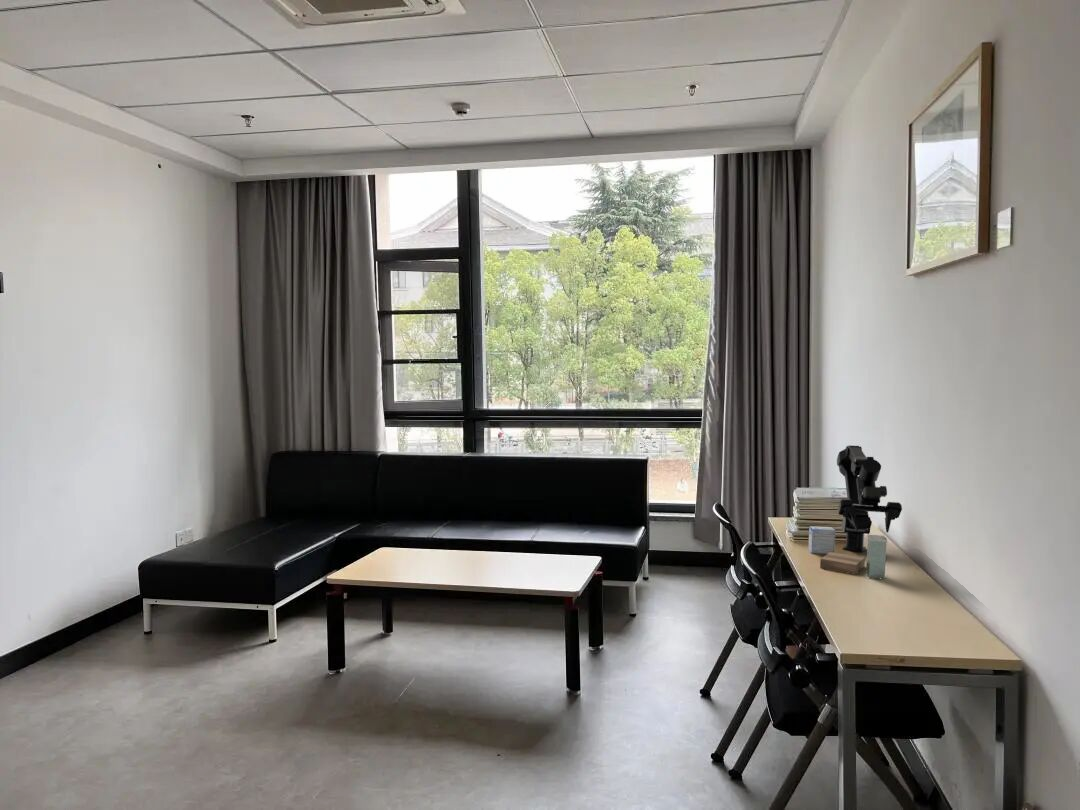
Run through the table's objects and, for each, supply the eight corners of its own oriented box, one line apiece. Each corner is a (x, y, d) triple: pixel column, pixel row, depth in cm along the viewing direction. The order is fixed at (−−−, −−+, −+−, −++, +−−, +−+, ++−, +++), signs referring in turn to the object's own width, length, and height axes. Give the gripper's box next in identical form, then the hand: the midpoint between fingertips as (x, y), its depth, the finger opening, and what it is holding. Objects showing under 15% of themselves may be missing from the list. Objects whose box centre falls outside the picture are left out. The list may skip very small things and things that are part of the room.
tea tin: (865, 574, 244) (867, 534, 243) (881, 575, 243) (883, 535, 242) (868, 578, 240) (870, 538, 239) (884, 579, 239) (887, 539, 238)
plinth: (830, 560, 259) (830, 551, 259) (864, 566, 252) (865, 557, 252) (820, 567, 250) (820, 558, 250) (855, 574, 244) (855, 565, 243)
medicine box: (831, 551, 271) (832, 526, 270) (834, 554, 266) (835, 530, 266) (807, 550, 272) (809, 526, 271) (811, 553, 267) (812, 529, 266)
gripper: (841, 475, 253) (845, 515, 243) (902, 478, 249) (909, 519, 239) (835, 494, 261) (840, 533, 252) (894, 497, 258) (901, 537, 248)
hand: (872, 530), depth 247 cm, fingers open, 9 cm apart
